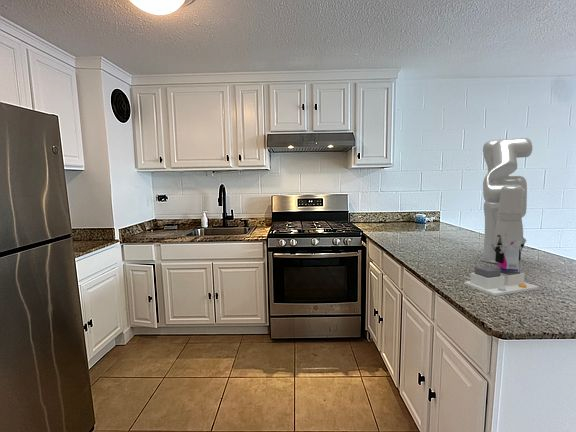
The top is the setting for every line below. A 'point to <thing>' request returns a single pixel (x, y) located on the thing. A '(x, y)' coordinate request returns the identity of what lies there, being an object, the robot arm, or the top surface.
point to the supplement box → (510, 257)
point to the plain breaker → (487, 271)
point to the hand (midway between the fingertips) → (507, 261)
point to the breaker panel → (500, 284)
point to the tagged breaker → (509, 272)
